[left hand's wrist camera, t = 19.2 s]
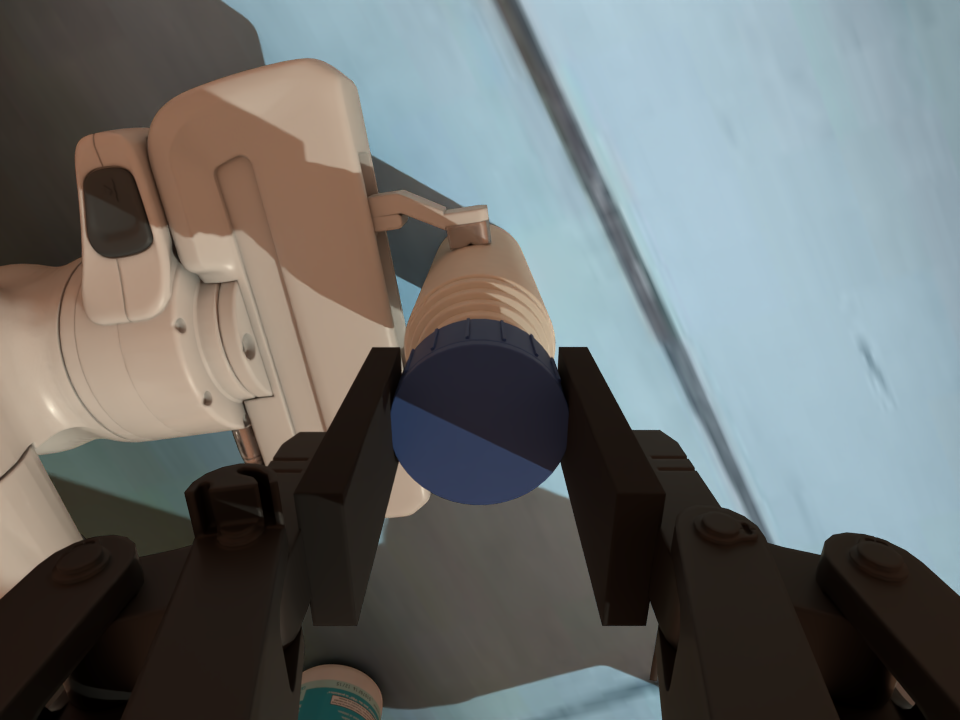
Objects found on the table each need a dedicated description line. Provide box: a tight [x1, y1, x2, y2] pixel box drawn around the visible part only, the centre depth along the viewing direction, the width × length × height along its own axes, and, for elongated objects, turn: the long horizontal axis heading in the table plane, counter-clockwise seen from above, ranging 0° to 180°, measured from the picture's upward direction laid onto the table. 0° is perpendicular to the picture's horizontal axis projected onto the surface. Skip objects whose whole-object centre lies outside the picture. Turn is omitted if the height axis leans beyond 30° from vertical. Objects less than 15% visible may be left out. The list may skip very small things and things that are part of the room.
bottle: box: [404, 224, 555, 362], centre depth 22 cm, size 5×5×18 cm
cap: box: [390, 318, 569, 505], centre depth 14 cm, size 4×4×2 cm
